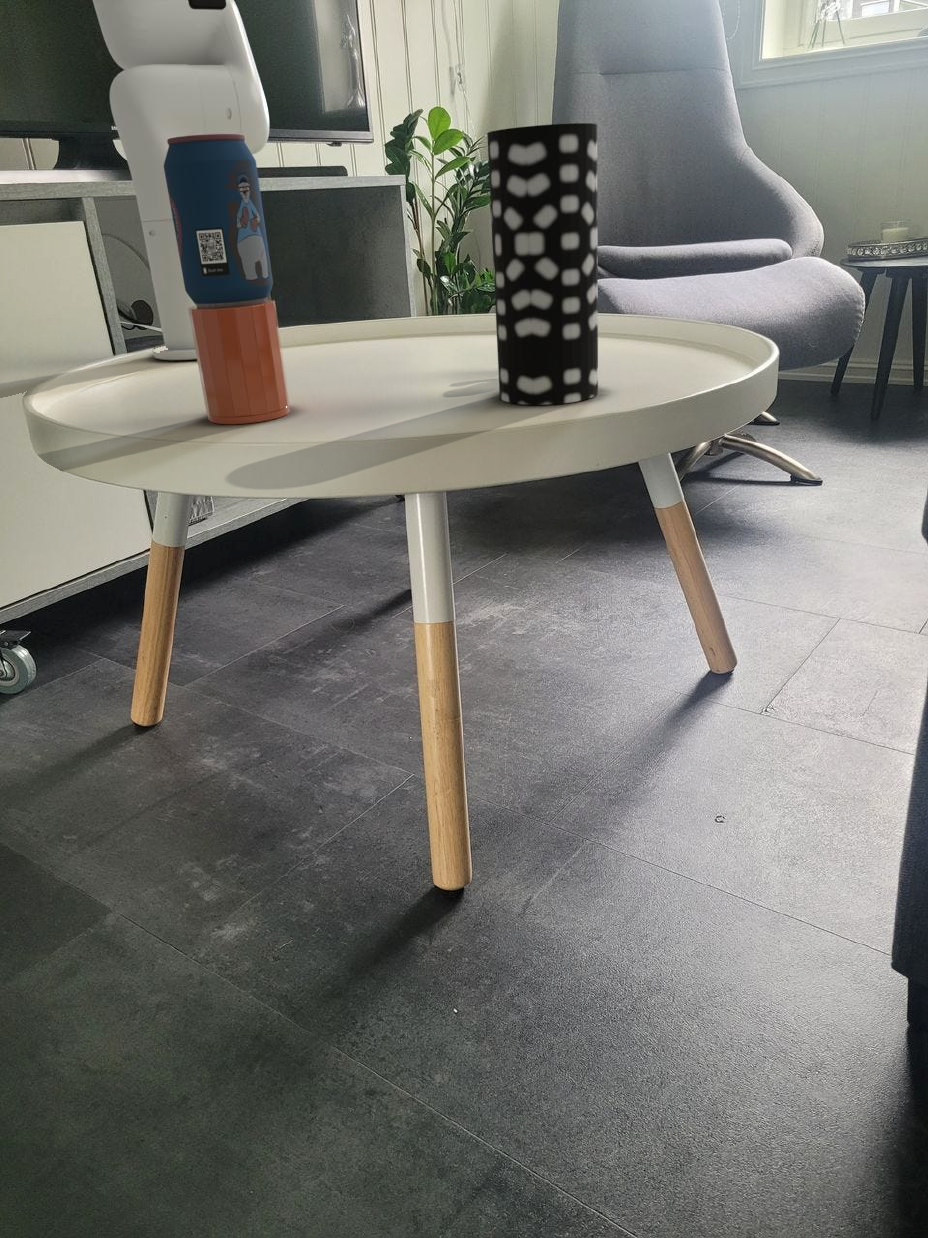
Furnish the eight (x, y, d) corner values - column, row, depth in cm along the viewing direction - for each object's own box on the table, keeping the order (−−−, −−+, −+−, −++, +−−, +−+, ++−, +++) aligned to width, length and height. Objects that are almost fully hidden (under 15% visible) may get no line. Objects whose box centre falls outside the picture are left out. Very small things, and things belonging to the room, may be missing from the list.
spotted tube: (527, 409, 73) (517, 125, 65) (483, 394, 80) (469, 136, 72) (617, 395, 76) (618, 121, 68) (567, 381, 83) (563, 132, 75)
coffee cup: (200, 415, 79) (181, 305, 76) (276, 403, 82) (261, 297, 78) (219, 428, 74) (198, 311, 70) (300, 415, 76) (284, 302, 73)
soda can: (202, 302, 78) (175, 143, 73) (283, 297, 77) (261, 136, 72) (176, 311, 71) (145, 137, 66) (264, 305, 71) (239, 130, 66)
